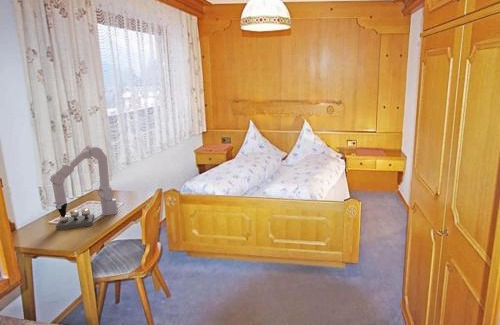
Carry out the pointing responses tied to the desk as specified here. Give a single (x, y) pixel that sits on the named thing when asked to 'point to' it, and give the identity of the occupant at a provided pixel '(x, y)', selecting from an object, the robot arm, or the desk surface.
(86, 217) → the knob
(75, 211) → the knob mid
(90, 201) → the desk surface
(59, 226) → the knob panel
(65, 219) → the knob
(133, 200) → the desk surface
